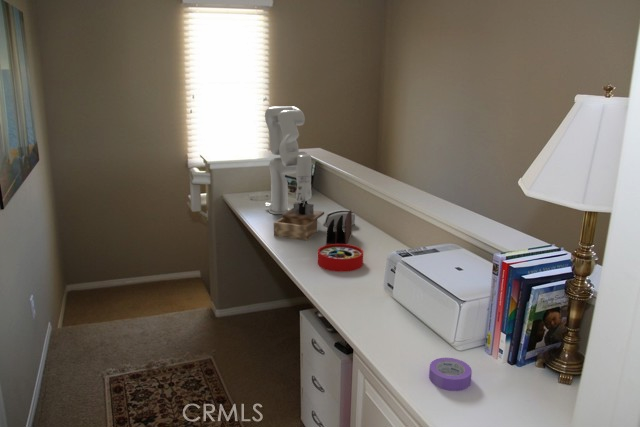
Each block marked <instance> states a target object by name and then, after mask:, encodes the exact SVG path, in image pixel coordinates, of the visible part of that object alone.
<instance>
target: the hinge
mask: <svg viewBox="0 0 640 427" xmlns="http://www.w3.org/2000/svg"><path fill="white" fill-rule="evenodd" d="M350 210H351V209H336V210H332V211H330V212H327V213H326V217H325V220H324V221H323V225H324V226H325V227H326V228H328V226H329V224H330V222H331V221H332V220H333V219H334V228H336V224H337V222H338V219H339V218H340V216H341V215H343V227H345V219H346V216H347V214H348V212H349V211H350ZM351 211H352V226H353V225H355V223H356V221H355V220H356V215H355V213H354V211H353V210H351Z"/></svg>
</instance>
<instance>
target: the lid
mask: <svg viewBox="0 0 640 427" xmlns="http://www.w3.org/2000/svg"><path fill="white" fill-rule="evenodd" d="M304 207H305V214H299V204H298V201H296V202H294V203H293V207H292V208H290V210H289V211H287V212H286V213H284V214H281V216H282V217H286V218H294V219H302V220H310V221H315V220H317V221H318V219H320V218H321V217H322V216H324V215H325V211H321V210H314V204H313V203H308V204H306V203H305V206H304ZM282 217H281V218H282Z"/></svg>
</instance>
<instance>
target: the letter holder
mask: <svg viewBox="0 0 640 427" xmlns="http://www.w3.org/2000/svg"><path fill="white" fill-rule="evenodd" d="M349 210H350V211H349V212H348V214H347V216H346V219H345V226H343V215H341V216H340V218H339V219H338V222H337V224H336V226H335V227H334V219H333V220H332V221H331V222H330V224H329V226H328V227H326V228H327V229H326V237H325V238H326V239H325V240H326V242H325V245H330V244H348V243H349V240H350V238H351V237H352V234H353V232H352V226H353V225H352V211H353V210H351V209H349ZM343 227H344V229H343ZM334 229H335V230H334Z"/></svg>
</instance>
